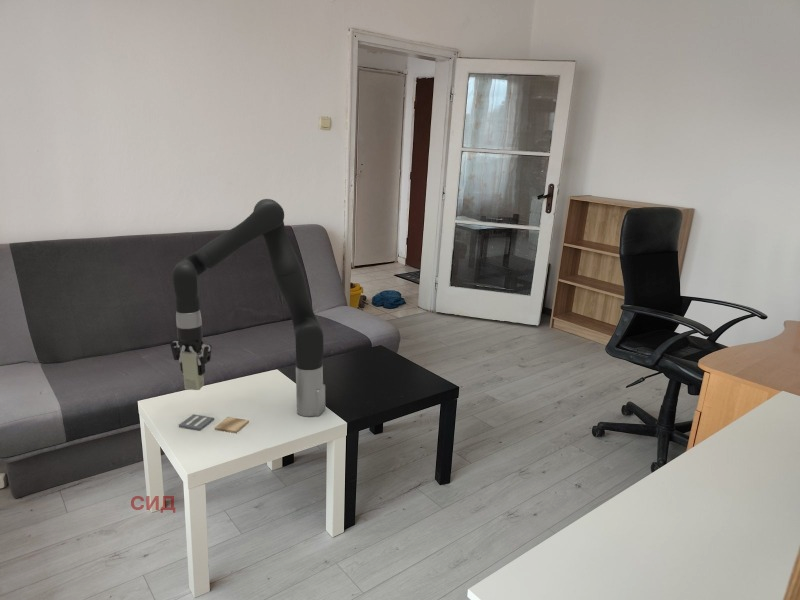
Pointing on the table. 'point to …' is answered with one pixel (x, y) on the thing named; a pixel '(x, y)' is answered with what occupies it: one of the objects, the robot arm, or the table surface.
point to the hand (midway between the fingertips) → (193, 373)
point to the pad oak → (231, 425)
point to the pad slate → (196, 422)
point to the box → (191, 371)
